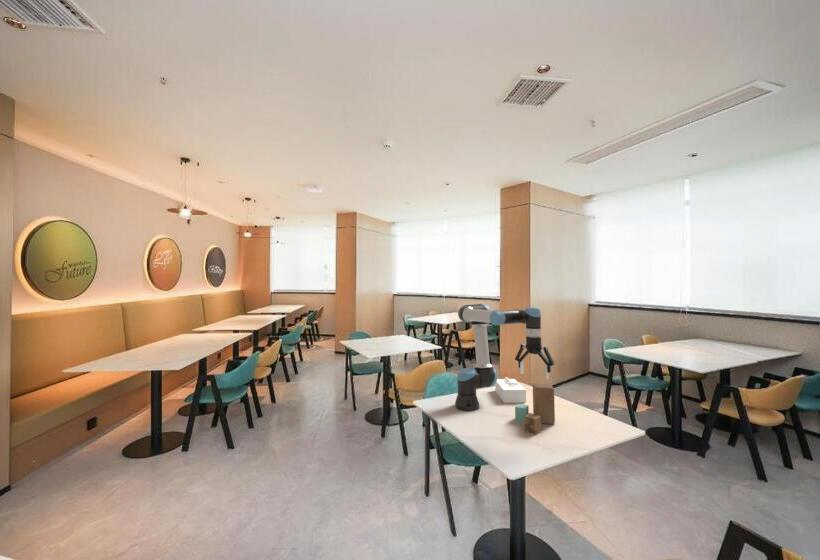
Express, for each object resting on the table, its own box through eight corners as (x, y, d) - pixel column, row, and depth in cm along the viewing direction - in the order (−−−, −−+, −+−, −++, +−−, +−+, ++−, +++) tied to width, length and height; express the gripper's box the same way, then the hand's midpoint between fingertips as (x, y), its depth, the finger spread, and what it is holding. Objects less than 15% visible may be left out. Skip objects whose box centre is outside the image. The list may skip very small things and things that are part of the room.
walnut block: (524, 431, 174) (524, 416, 175) (530, 427, 178) (529, 412, 179) (535, 434, 170) (535, 419, 170) (541, 431, 174) (540, 416, 174)
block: (555, 424, 181) (554, 388, 182) (536, 423, 183) (535, 387, 184) (551, 417, 191) (550, 382, 191) (533, 416, 193) (532, 382, 193)
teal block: (515, 421, 187) (515, 406, 188) (518, 417, 193) (517, 403, 193) (526, 423, 184) (525, 408, 184) (528, 419, 189) (528, 405, 189)
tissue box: (504, 403, 216) (503, 386, 216) (495, 391, 241) (494, 376, 241) (526, 403, 216) (525, 386, 216) (515, 390, 241) (514, 375, 241)
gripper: (508, 334, 182) (509, 373, 182) (555, 339, 165) (556, 382, 165) (514, 333, 187) (515, 370, 187) (560, 337, 171) (561, 378, 170)
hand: (534, 376), depth 176 cm, fingers open, 13 cm apart
